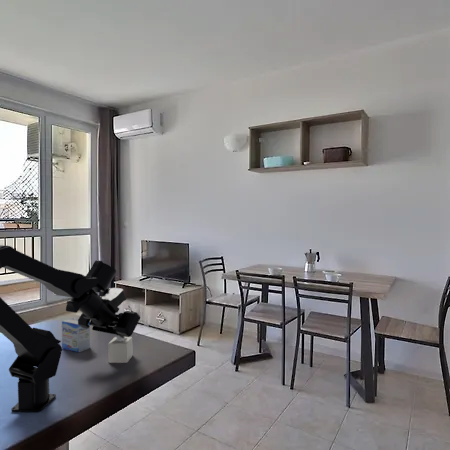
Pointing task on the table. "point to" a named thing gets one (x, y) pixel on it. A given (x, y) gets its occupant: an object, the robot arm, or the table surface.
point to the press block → (120, 350)
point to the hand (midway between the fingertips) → (124, 334)
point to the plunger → (120, 337)
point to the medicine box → (75, 336)
